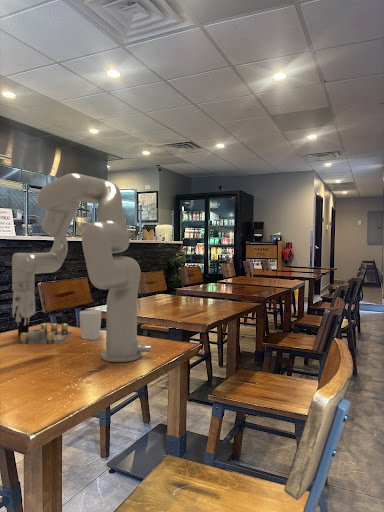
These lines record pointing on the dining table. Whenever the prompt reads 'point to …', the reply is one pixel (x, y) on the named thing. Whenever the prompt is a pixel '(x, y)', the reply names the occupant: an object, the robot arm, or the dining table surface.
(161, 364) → the dining table surface
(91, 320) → the white cup
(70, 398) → the dining table surface
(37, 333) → the steel nut
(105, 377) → the dining table surface
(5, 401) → the dining table surface
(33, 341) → the jig plate
